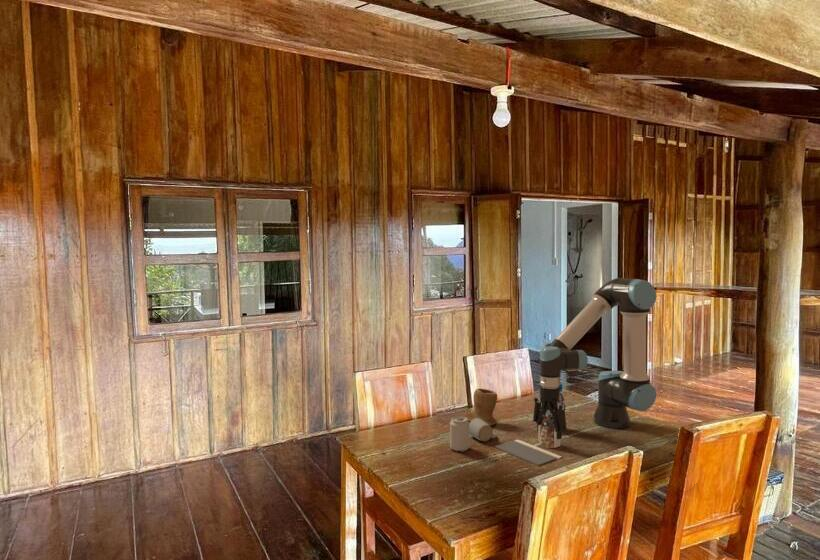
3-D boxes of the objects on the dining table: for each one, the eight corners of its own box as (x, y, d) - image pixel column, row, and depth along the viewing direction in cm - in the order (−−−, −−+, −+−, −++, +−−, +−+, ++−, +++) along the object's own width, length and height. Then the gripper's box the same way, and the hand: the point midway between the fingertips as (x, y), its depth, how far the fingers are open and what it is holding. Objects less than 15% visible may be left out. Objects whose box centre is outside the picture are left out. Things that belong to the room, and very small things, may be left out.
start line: (517, 440, 217) (517, 439, 217) (561, 457, 199) (561, 456, 199) (514, 441, 216) (514, 440, 216) (558, 458, 198) (558, 457, 198)
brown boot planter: (502, 422, 239) (502, 389, 238) (488, 429, 230) (488, 395, 229) (474, 415, 248) (474, 383, 247) (459, 422, 239) (459, 389, 238)
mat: (512, 441, 215) (512, 440, 215) (556, 459, 197) (556, 458, 197) (494, 447, 209) (494, 446, 209) (538, 465, 192) (538, 464, 192)
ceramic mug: (479, 444, 213) (479, 425, 213) (467, 437, 220) (467, 419, 220) (500, 439, 218) (500, 421, 217) (488, 433, 225) (488, 415, 225)
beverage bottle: (542, 431, 227) (542, 384, 226) (544, 424, 235) (545, 380, 234) (562, 433, 224) (563, 386, 223) (564, 427, 232) (565, 381, 231)
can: (471, 446, 210) (471, 416, 210) (466, 453, 203) (466, 422, 203) (452, 444, 213) (452, 414, 212) (447, 451, 206) (447, 420, 205)
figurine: (555, 449, 207) (555, 419, 206) (537, 446, 210) (537, 416, 210) (560, 443, 213) (561, 414, 212) (543, 440, 216) (543, 411, 216)
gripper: (523, 382, 216) (523, 438, 217) (564, 393, 200) (563, 453, 201) (536, 379, 220) (535, 434, 222) (577, 390, 204) (576, 449, 205)
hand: (549, 443), depth 211 cm, fingers closed on figurine, 7 cm apart
